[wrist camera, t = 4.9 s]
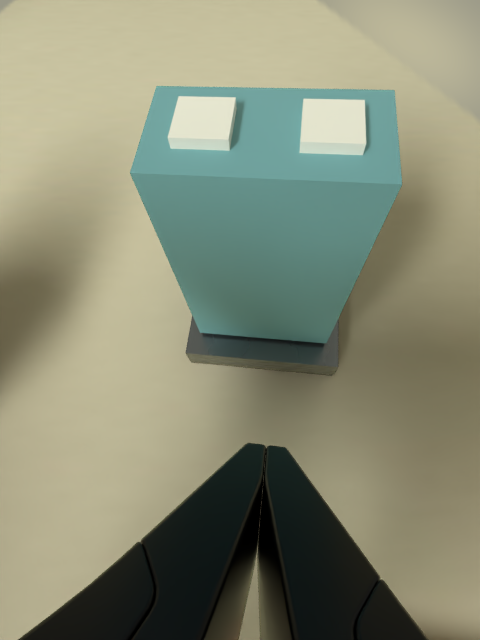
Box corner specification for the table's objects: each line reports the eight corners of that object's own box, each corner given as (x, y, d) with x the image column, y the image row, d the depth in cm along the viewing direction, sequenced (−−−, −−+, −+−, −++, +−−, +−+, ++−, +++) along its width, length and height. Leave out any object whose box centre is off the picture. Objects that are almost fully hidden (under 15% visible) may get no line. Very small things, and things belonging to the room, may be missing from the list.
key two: (332, 344, 17) (422, 174, 7) (200, 332, 17) (125, 162, 8) (333, 287, 18) (411, 77, 9) (209, 278, 19) (153, 74, 9)
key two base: (332, 375, 18) (352, 345, 14) (191, 362, 19) (171, 330, 15) (334, 249, 21) (351, 193, 17) (212, 242, 22) (199, 187, 18)
